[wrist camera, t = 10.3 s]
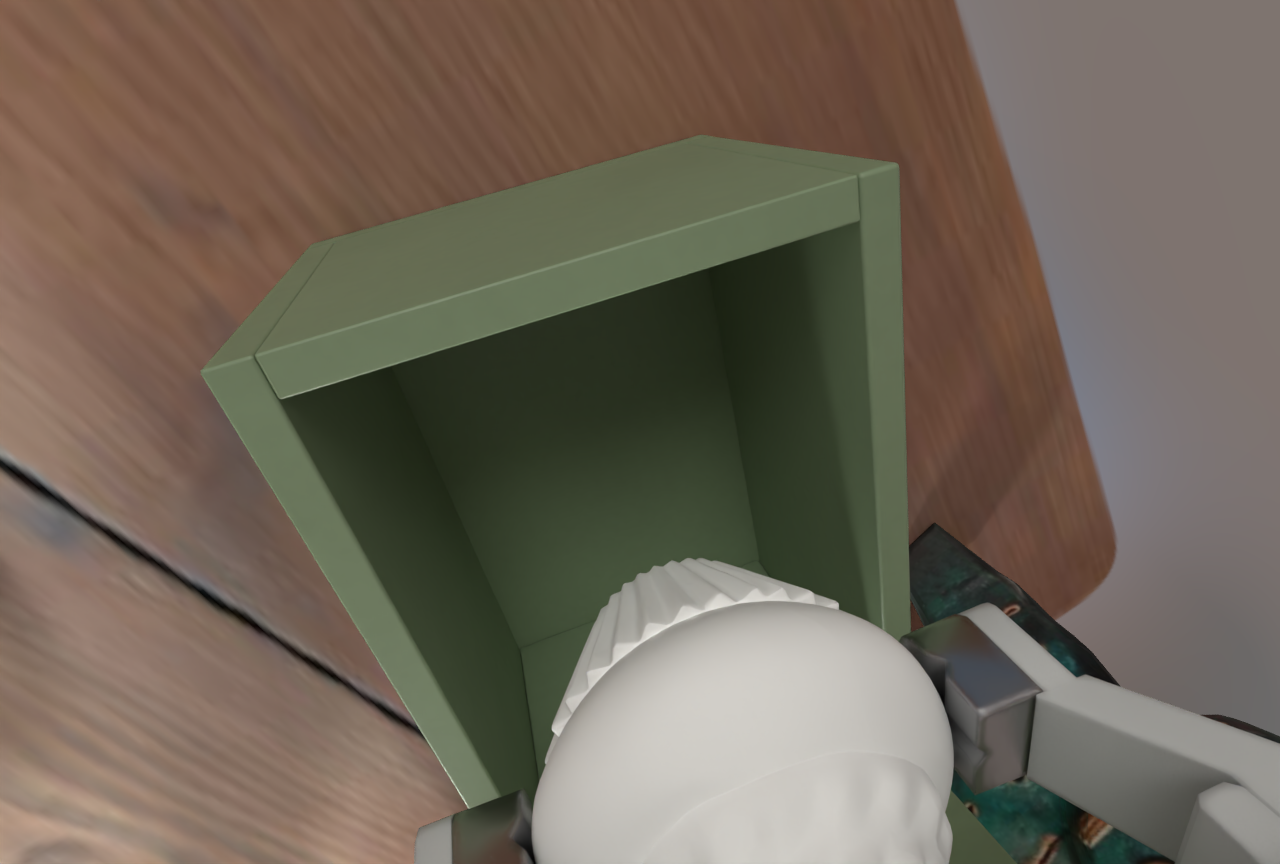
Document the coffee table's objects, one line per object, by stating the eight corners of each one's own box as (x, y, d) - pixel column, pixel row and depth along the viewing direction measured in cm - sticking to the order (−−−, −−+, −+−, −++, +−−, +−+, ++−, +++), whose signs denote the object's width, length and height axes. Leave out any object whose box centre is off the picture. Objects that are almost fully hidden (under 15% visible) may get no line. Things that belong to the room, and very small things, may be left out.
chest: (310, 244, 18) (196, 371, 10) (702, 133, 20) (901, 161, 11) (503, 654, 26) (534, 916, 18) (770, 554, 28) (915, 755, 19)
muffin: (862, 492, 12) (1275, 865, 6) (773, 731, 15) (1010, 1171, 9) (530, 477, 10) (664, 1005, 4) (489, 757, 13) (538, 1353, 7)
